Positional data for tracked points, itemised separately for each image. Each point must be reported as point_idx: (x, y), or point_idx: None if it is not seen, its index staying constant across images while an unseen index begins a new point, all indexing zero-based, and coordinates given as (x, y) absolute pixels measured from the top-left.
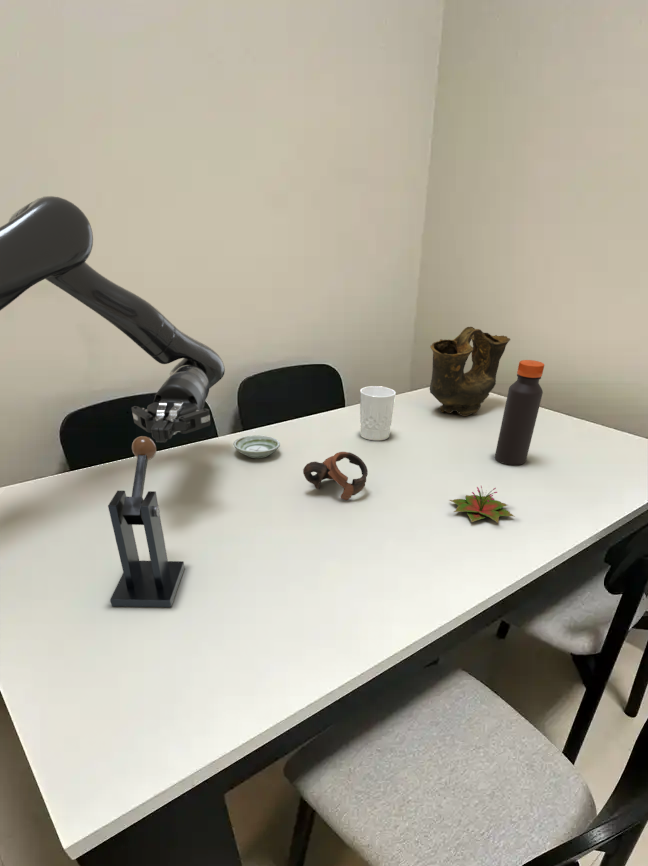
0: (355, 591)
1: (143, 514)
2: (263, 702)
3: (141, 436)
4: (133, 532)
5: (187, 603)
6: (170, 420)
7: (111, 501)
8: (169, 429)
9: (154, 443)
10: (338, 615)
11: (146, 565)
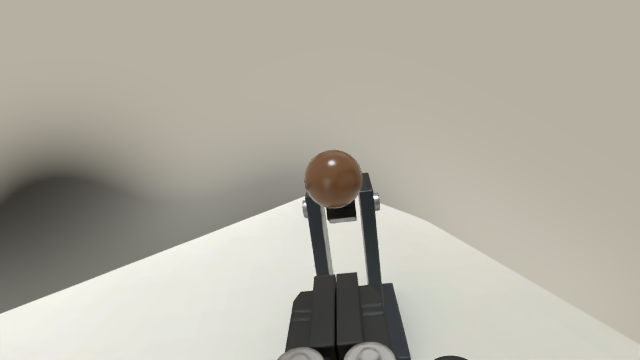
0: (45, 353)
1: None
2: (226, 235)
3: (332, 151)
4: (367, 266)
5: None
6: (295, 351)
7: (367, 176)
8: (294, 300)
9: (305, 172)
10: (105, 312)
11: None
